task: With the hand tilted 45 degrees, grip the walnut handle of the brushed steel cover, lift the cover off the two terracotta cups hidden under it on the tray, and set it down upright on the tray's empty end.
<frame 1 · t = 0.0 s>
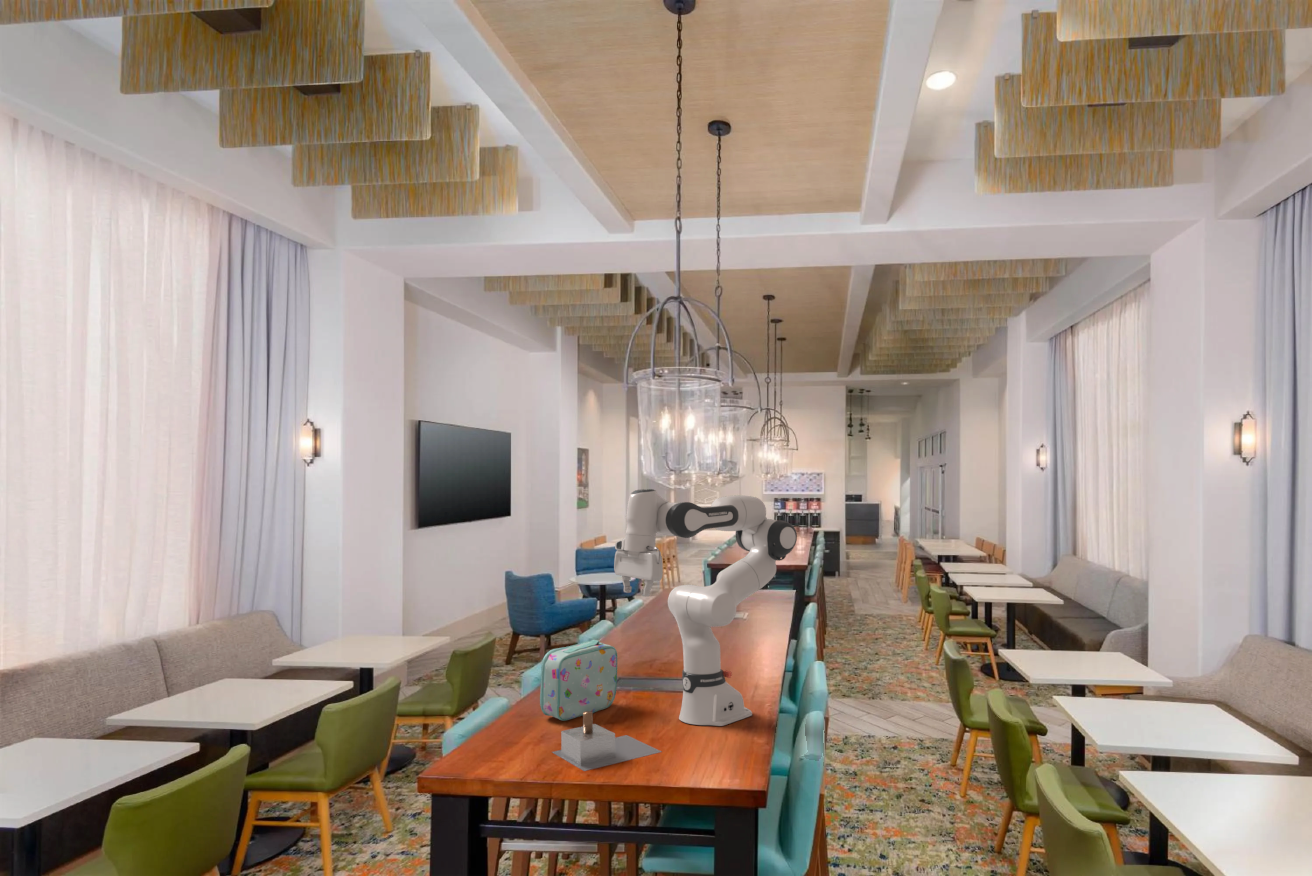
hand: (636, 594, 228), 39 cm above the table, tool pointing down, fingers open, 8 cm apart
tray: (606, 756, 207), on the table
lunch box: (580, 713, 247), on the table
steel cover: (588, 756, 204), point 1 cm above the table, touching tray
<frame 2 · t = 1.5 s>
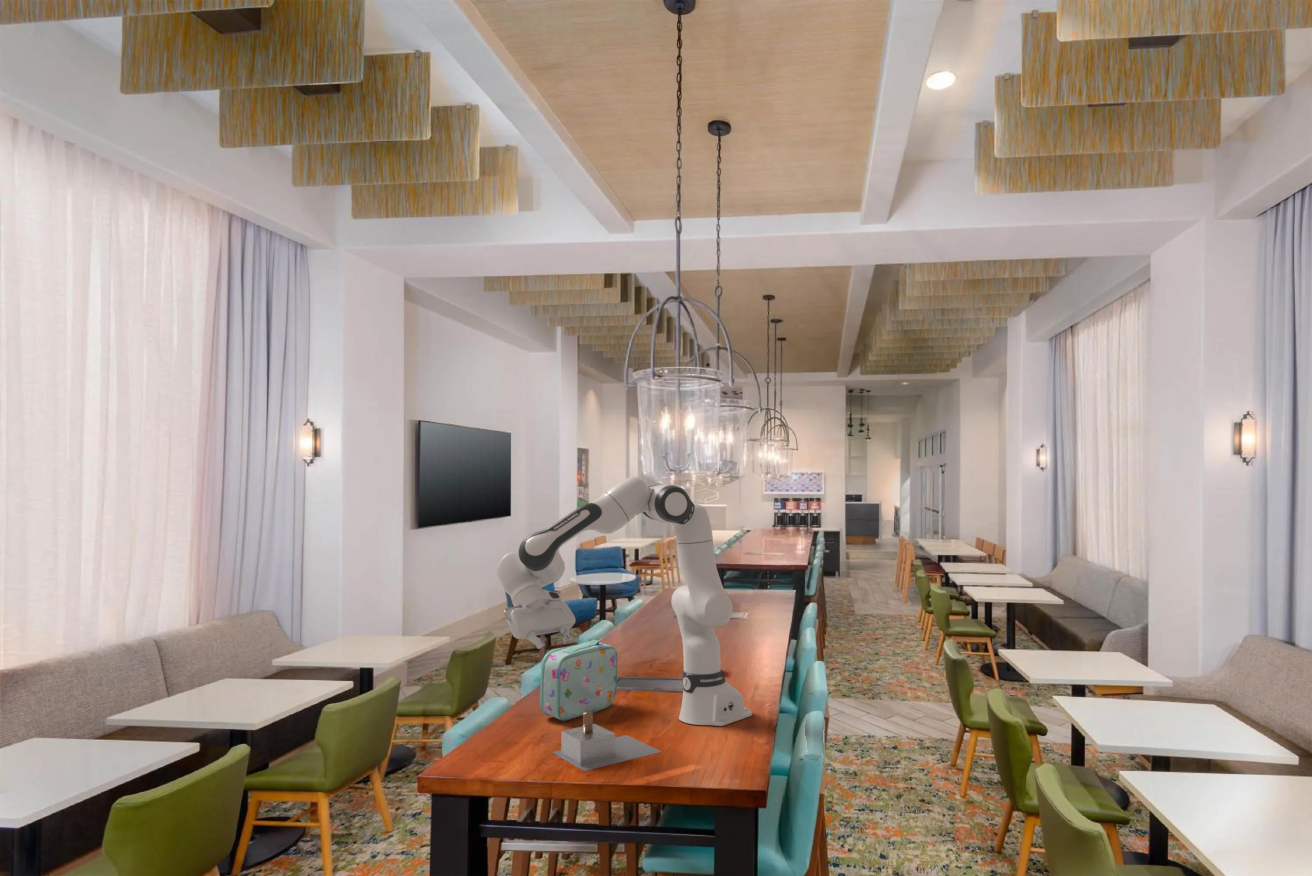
hand: (555, 644, 214), 28 cm above the table, tool tilted 45°, fingers open, 8 cm apart
nothing on the table moved.
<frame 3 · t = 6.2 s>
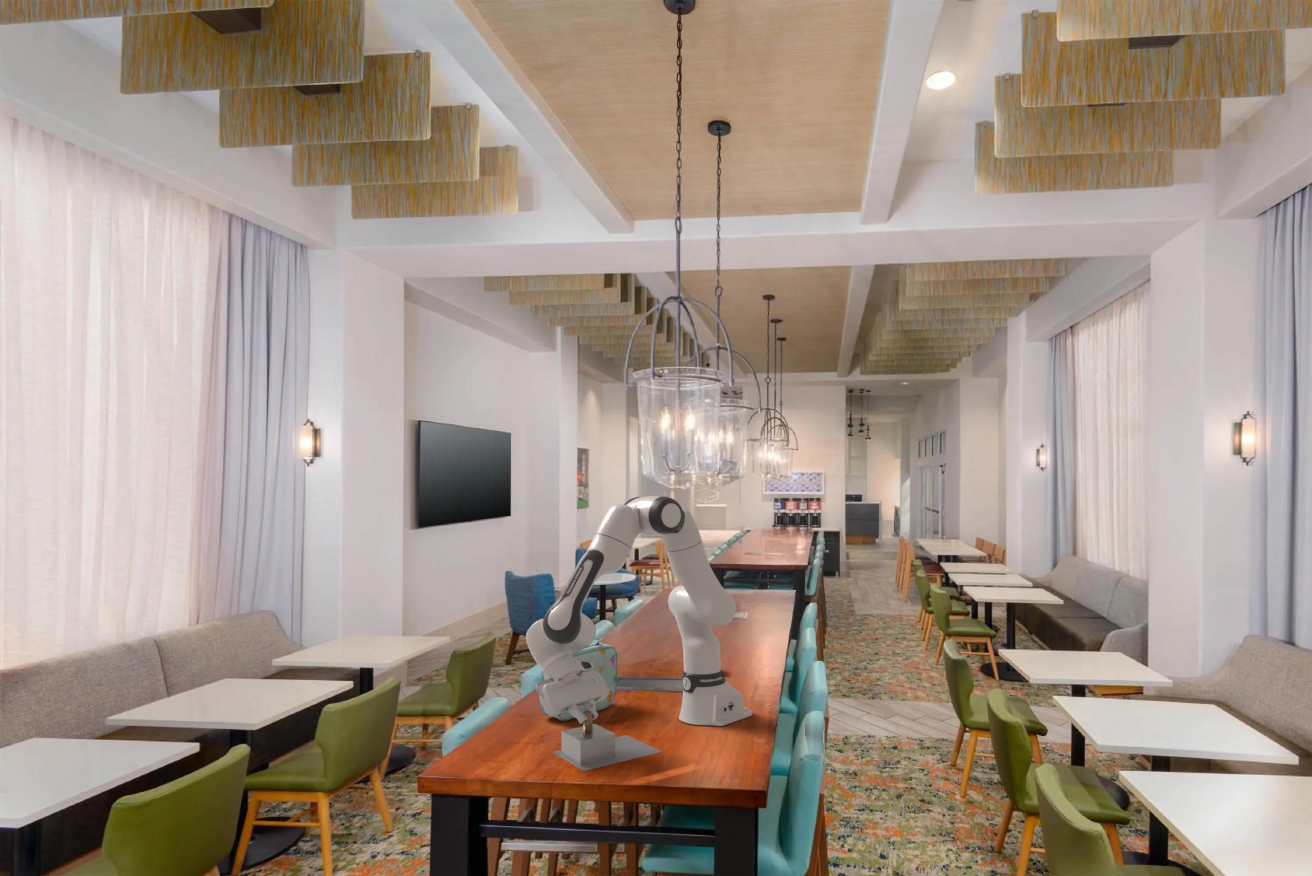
hand: (589, 720, 204), 10 cm above the table, tool tilted 45°, fingers closed on steel cover, 2 cm apart
steel cover: (588, 756, 204), point 1 cm above the table, touching gripper, tray
everything else where it was.
when the fingers open (12 cm above the table, at t = 11.3 s): steel cover drops 1 cm, resting on tray.
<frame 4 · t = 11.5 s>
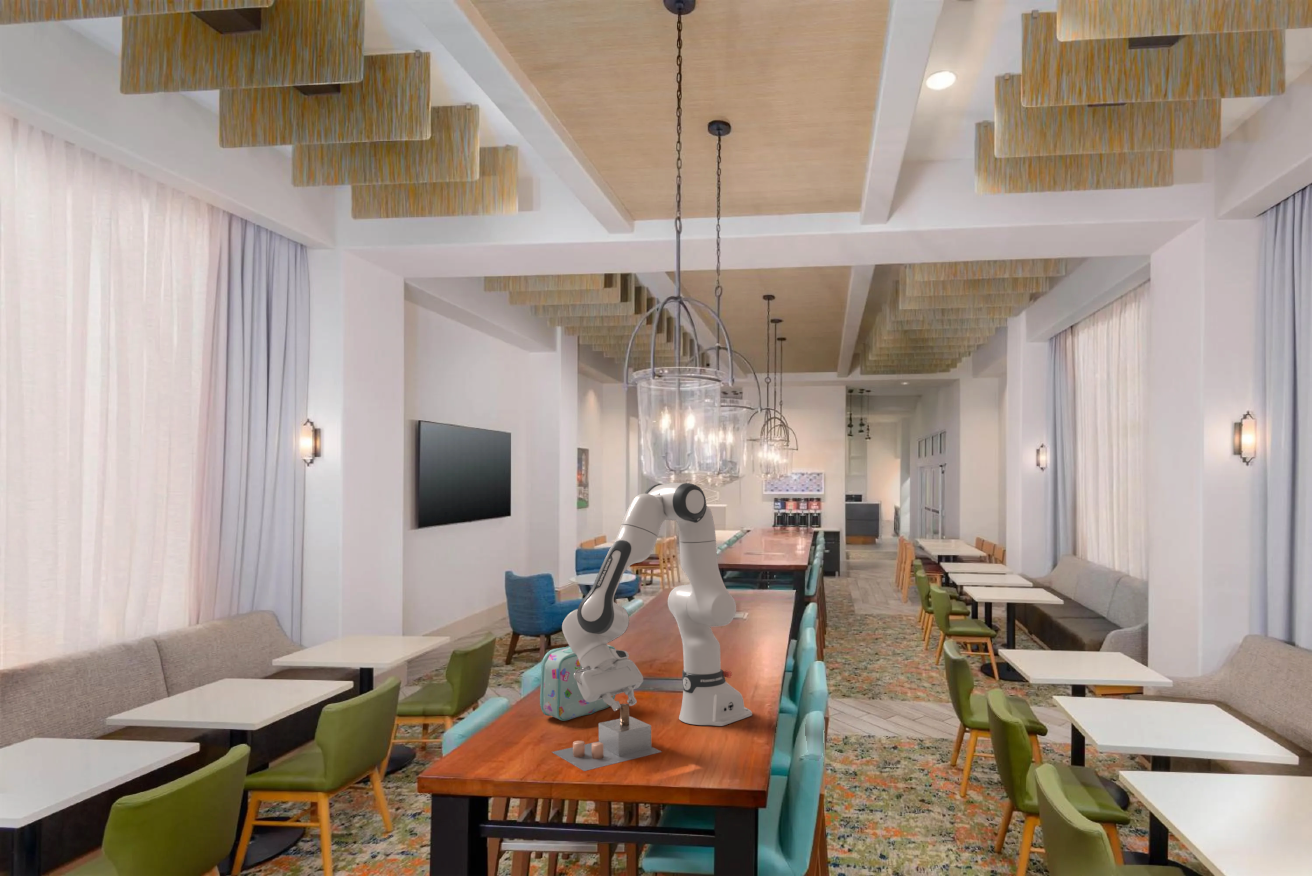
hand: (626, 706, 211), 12 cm above the table, tool tilted 45°, fingers open, 5 cm apart
steel cover: (624, 747, 210), point 1 cm above the table, touching tray
everything else where it was.
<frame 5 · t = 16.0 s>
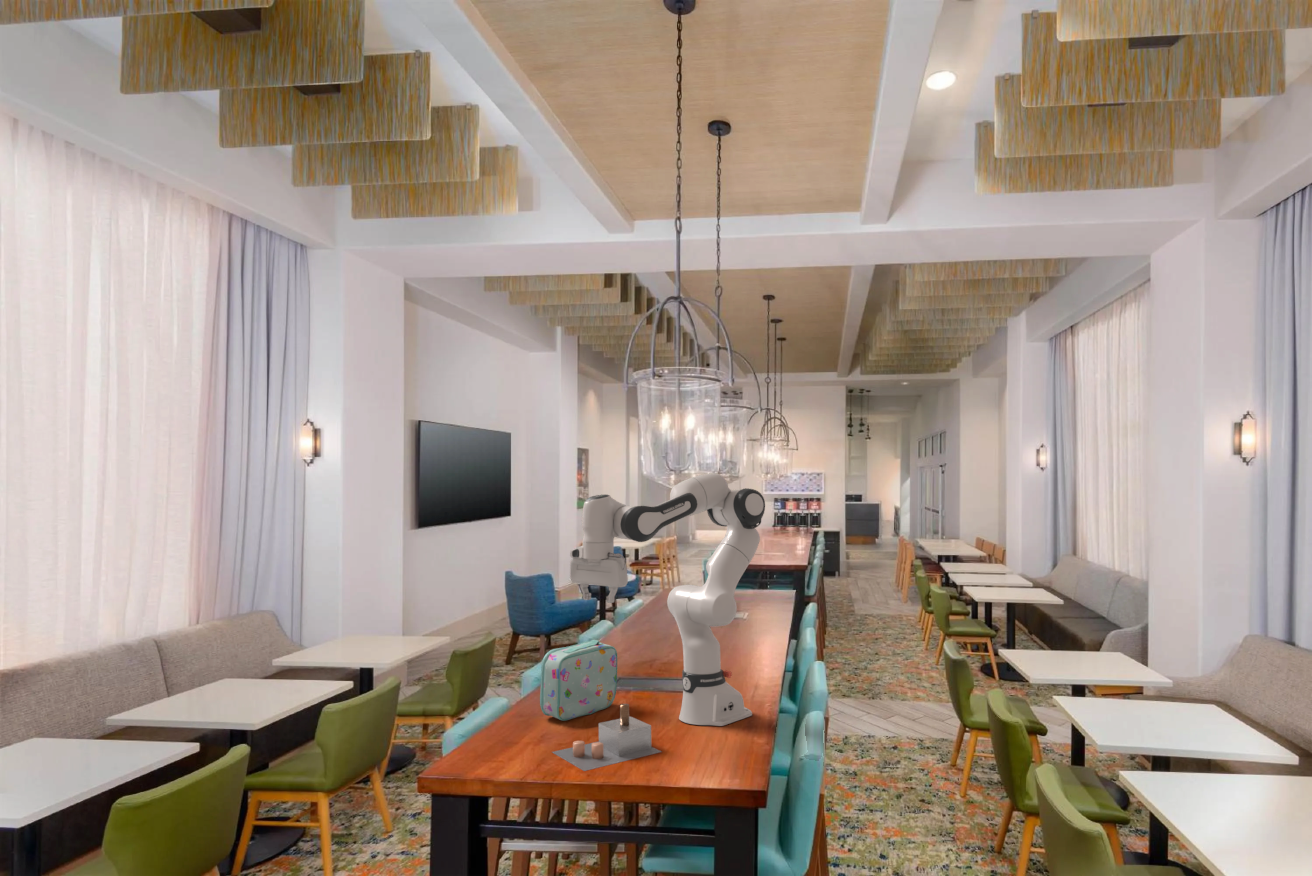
hand: (598, 601, 228), 37 cm above the table, tool pointing down, fingers open, 8 cm apart
nothing on the table moved.
at the end: steel cover 0.1 cm from the target spot on the tray, point 1.2 cm above the tray's base; steel cover tilted 0°; the gripper is holding nothing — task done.
